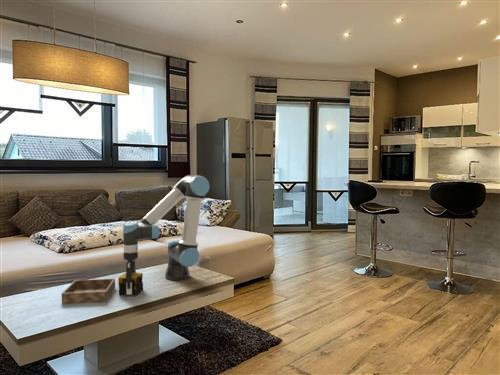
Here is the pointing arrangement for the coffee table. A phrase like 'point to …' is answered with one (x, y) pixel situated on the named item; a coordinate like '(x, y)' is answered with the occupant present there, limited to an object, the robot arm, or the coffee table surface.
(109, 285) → the crate
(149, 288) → the coffee table surface
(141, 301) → the coffee table surface
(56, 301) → the coffee table surface
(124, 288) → the candle
